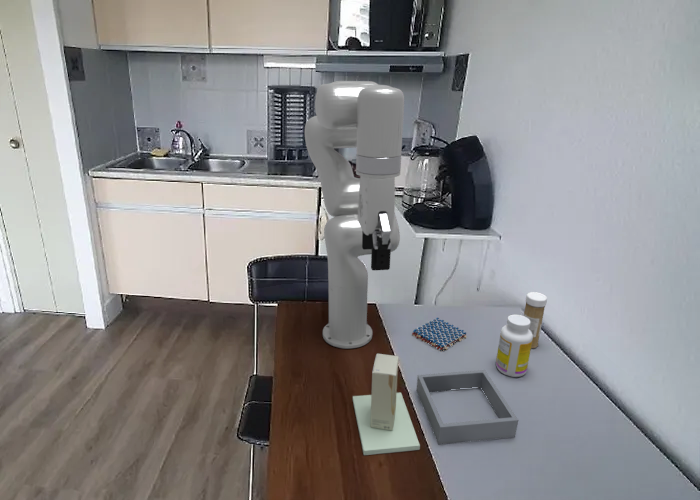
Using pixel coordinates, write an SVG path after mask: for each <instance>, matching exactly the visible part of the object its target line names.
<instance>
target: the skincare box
mask: <svg viewBox="0 0 700 500" xmlns="http://www.w3.org/2000/svg"><path fill="white" fill-rule="evenodd" d="M399 357H400V356H399V355H393V354H392V355H391V354H385V353H383V354H382V353H376V355H375V359H374V362H373V363H374V364H373V367H372V373H371V374H372V375H371V395H372V396H371V424H370V427H373V428H379V429H386V430H393V426H394V420H395V411H396V393H398V391H397V390H398V374H399V373H398V372H399Z"/></svg>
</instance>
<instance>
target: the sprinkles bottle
mask: <svg viewBox="0 0 700 500" xmlns="http://www.w3.org/2000/svg"><path fill="white" fill-rule="evenodd" d="M547 301H548V297H547V295H545V294H543V293H541V292H536V291H530V292H528V293H526V297H525V308H524V312H523V316H525V317H527V318H528V319H529V320H530V327H529V330H530V331H531V332H532V335H533V339H532V345H531V349H536V348H537V347H538V346H539V339H540V335H541V330H542V325H543V318H544V312H545V307H546V306H547Z"/></svg>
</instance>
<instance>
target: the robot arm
mask: <svg viewBox="0 0 700 500" xmlns="http://www.w3.org/2000/svg"><path fill="white" fill-rule="evenodd" d="M314 109H315V114H316V115H314V116H311V117H309V118H308V120H307V121H306V122H305V124H304V125H305V126H304V140H305V145H306V150H307V153H308V155H309V157H310V159H311V160H310V161H311V162H312V163H313V165H314V167H315V169H316V171H317V173H318V176H319V182H320V186H321V191H322V197H323V202H324V207H325V210H326V212H327V214H328V215H329V216H331V217H332V218H330V219H328V221H327V222H326V223H325V224H324V228H323V229H324V230H323V235H324V236H323V237H324V242H325V243H324V244H325V250H326V254H327V256H326V257H327V269H328V270H327V272H328V273H327V277H328V280H327V281H328V323H327V324H326V325H325V326H324V327H323V329H322V337H323V340H324V341H325V342H326V343H327V344H328V345H330V346H333V347H336V348H339V349H346V350H347V349H356V348H357V349H358V348H361V347H363V346H365V345H367V344H368V343H369V342H370V341H371V340H372V338H373V329H372V327H371V326H370V325H369V324H368V321H367V320H368V319H367V318H368V317H367V316H368V314H367V313H368V287H369V286H368V285H369V283H368V281H369V274H368V273H369V272H368V269H367V268H366V265H365V264H364V262H362V260H361V259H360V258H359V257H360V256H361V257H362V256H367V255H371V256H370V259H371V260H370V261H371V263H370V269H371V270H372V271H388V270H390V269H391V253H392V252H394V251H395V250H397V249H398V247H399V246H400V240H401V235H400V234H401V233H400V229H399V227H400V226H399V224H398V219H397V216H396V212H395V210H396V209H395V205H396V204H395V203H396V202H395V201H396V197H395V193H396V183H395V182H396V181H395V180H396V179H395V178H396V177H399V176H400V175H401V170H402V169H401V168H402V150H403V149H402V148H403V147H402V146H403V132H404V130H403V129H404V114H405V113H404V112H405V95H404V92H403V91H402V90H401V89H400V88H396V87H392V86H391V85H386V84H379V83H377V82H375V81H371V80H370V81H369V80H360V81H359V80H337V81H333V82H330V83H322V84H320V85H319V86H318V88H317V90H316V96H315V101H314ZM335 149H356V157H355V158H356V167H355V168H356V169H355V175H357V176H360V177H355V175H354V172H353V167H352V164H351V163H350V162H349V160H348V159H346V157H344V156H343V155H342V154H341V153H340V152H338V151H336V150H335Z"/></svg>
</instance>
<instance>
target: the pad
mask: <svg viewBox="0 0 700 500" xmlns="http://www.w3.org/2000/svg"><path fill="white" fill-rule="evenodd" d="M371 396H372V394H364V395H363V394H362V395H352V402H353V408H354V413H355V417H356V418H355V419H356V423H357V427H358V434H359V438H360V442H361V448H362V453H363V456H369V455H380V454H391V453H401V452H410V451H419V450H420V449H421V444H420V442H419V440H418V436H417V434H416V430H415V428H414V425H413V422H412V420H411V416H410V413H409V411H408V408H407V406H406V403H405V400H404V398H403V397H404V396H403V394H402V392H397V393H396V411H395V420H394V426H393V430H386V429H379V428H373V427H370V424H371Z"/></svg>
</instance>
